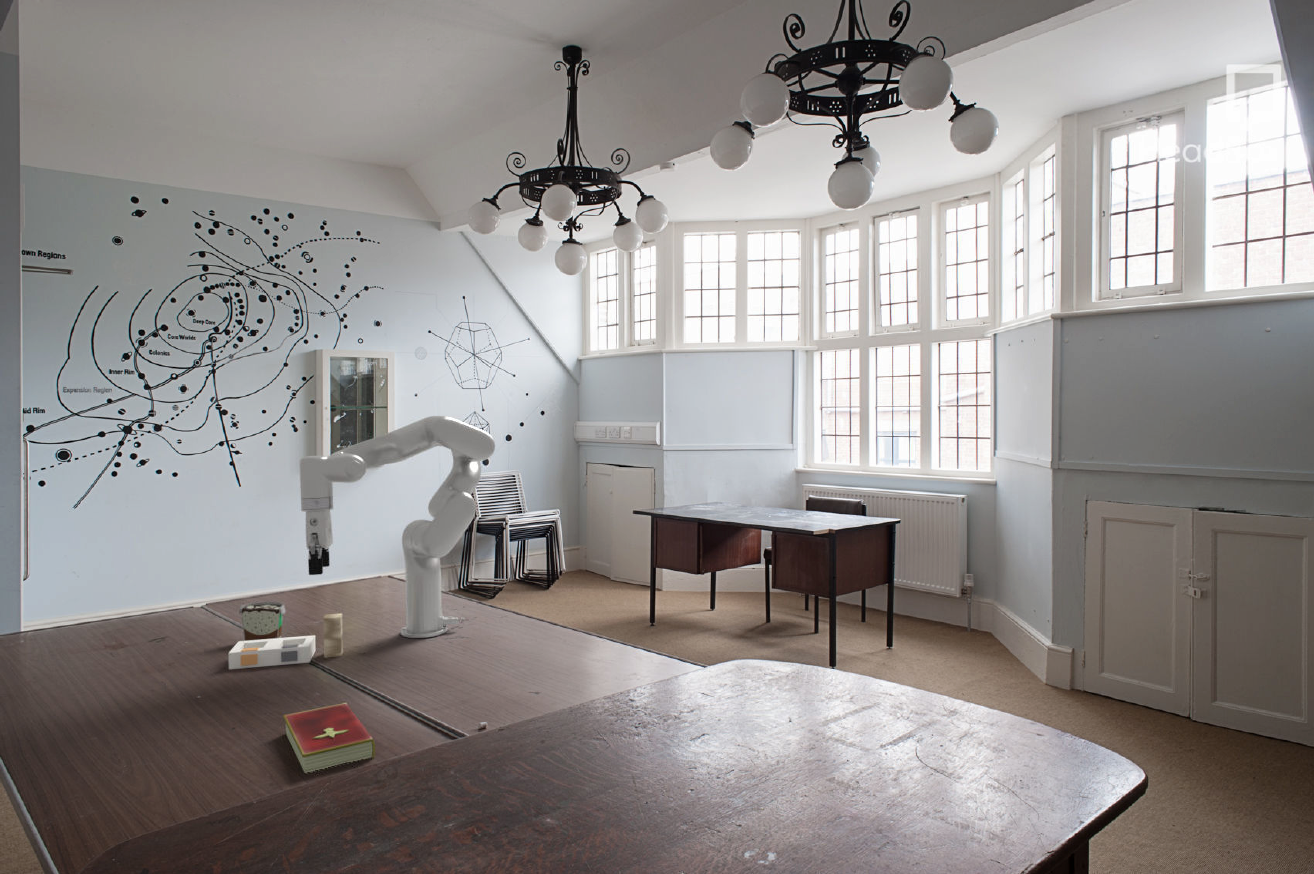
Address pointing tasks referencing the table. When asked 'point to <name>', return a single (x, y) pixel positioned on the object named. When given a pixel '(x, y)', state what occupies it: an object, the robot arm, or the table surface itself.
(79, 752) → the table surface
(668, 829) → the table surface
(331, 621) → the plug
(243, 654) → the socket block
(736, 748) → the table surface
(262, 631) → the food container
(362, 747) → the hardcover book
